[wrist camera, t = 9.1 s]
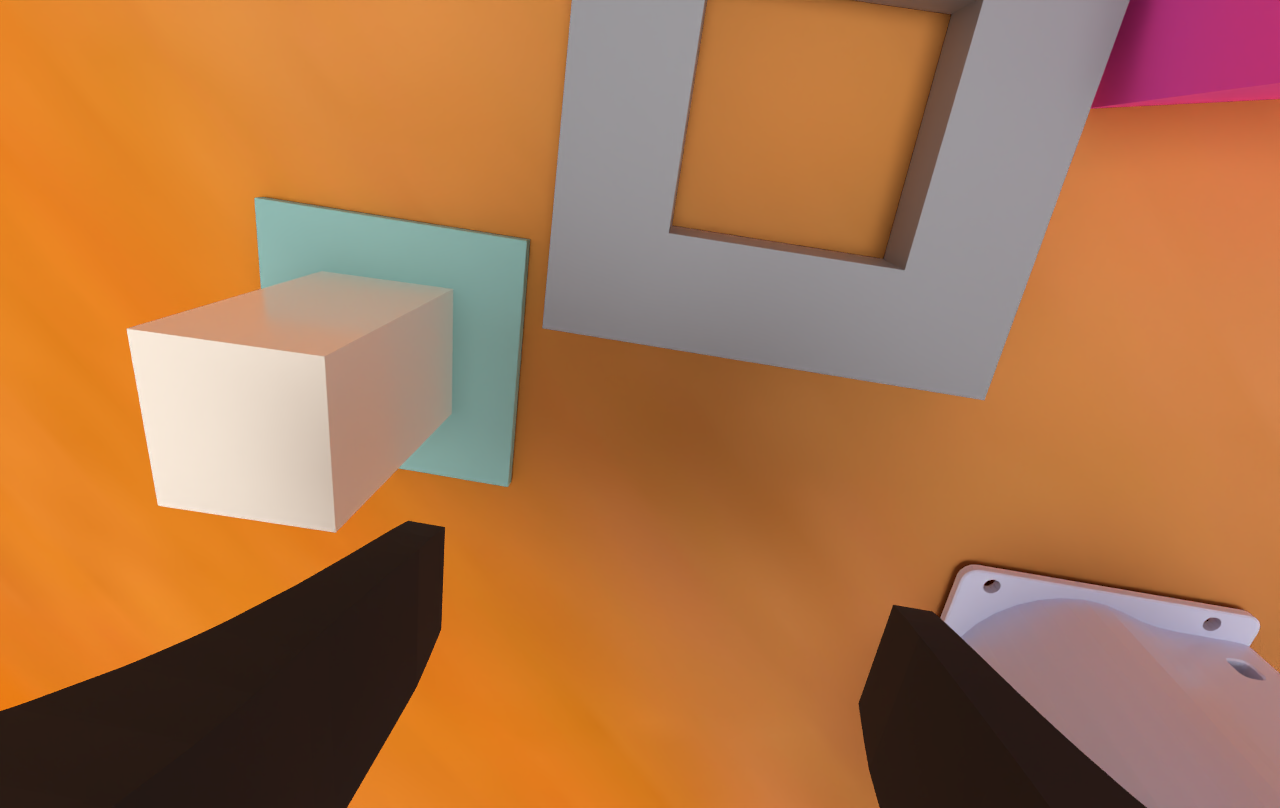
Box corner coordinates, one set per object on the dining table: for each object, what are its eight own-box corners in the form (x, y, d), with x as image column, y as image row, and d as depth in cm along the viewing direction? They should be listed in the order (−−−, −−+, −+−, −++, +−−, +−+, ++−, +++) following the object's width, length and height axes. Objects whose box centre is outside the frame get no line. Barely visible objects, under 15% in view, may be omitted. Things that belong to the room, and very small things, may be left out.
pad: (530, 239, 19) (526, 241, 18) (511, 481, 22) (507, 487, 21) (263, 197, 19) (254, 197, 19) (279, 441, 22) (272, 446, 21)
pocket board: (1125, -117, 15) (1187, -157, 13) (956, 376, 19) (983, 400, 17) (606, -189, 15) (593, -238, 13) (557, 311, 19) (542, 327, 18)
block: (453, 288, 19) (324, 357, 12) (451, 413, 20) (335, 532, 14) (321, 270, 19) (126, 328, 13) (329, 396, 21) (157, 505, 14)
